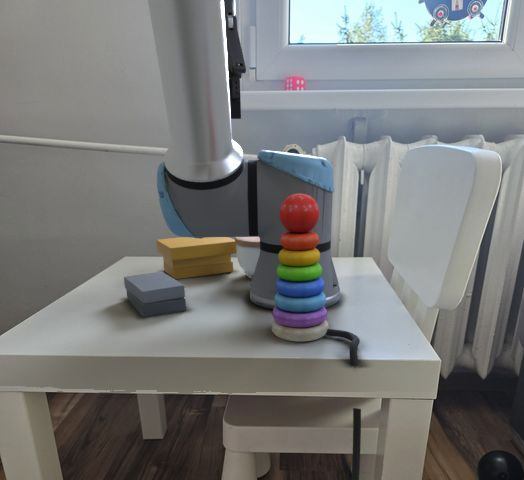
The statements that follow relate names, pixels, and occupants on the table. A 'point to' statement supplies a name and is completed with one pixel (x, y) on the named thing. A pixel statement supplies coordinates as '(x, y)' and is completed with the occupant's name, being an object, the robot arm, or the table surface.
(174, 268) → the mustard pile
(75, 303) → the table surface
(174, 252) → the mustard block
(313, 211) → the stacking toy
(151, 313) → the grey pile
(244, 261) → the white bowl
